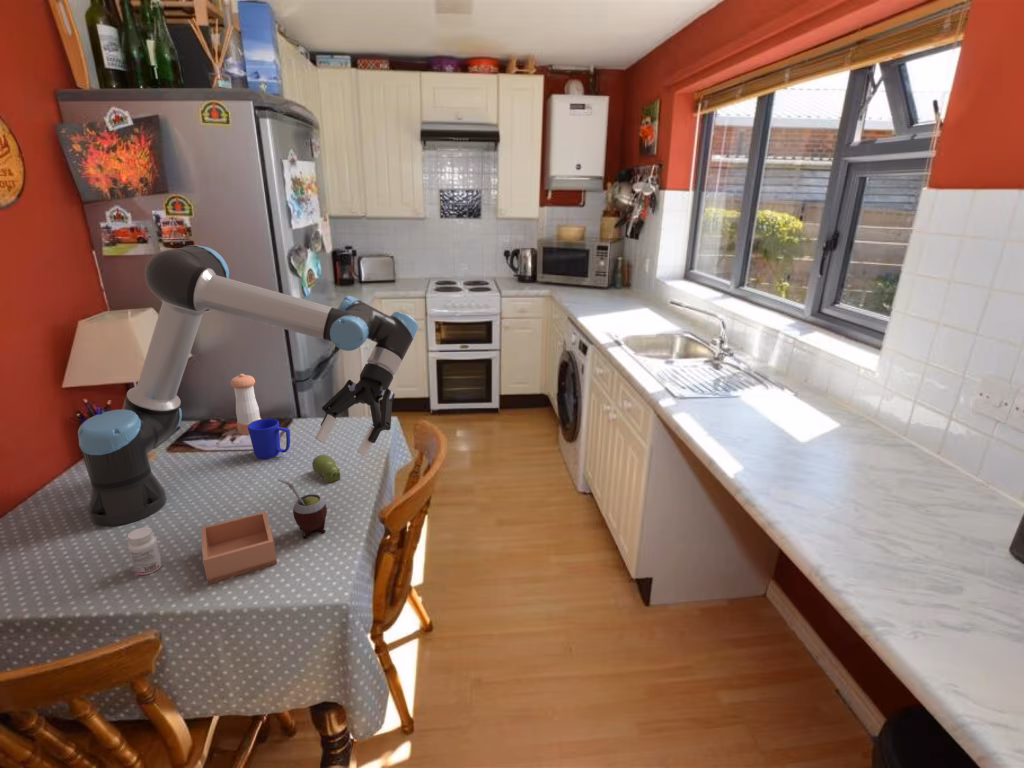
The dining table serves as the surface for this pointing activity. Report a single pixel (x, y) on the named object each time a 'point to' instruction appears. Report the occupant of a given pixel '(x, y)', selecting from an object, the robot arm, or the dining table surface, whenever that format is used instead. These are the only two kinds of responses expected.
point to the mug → (267, 438)
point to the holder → (237, 547)
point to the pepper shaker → (245, 402)
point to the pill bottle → (144, 551)
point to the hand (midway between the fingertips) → (339, 447)
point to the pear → (326, 468)
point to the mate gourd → (309, 512)
